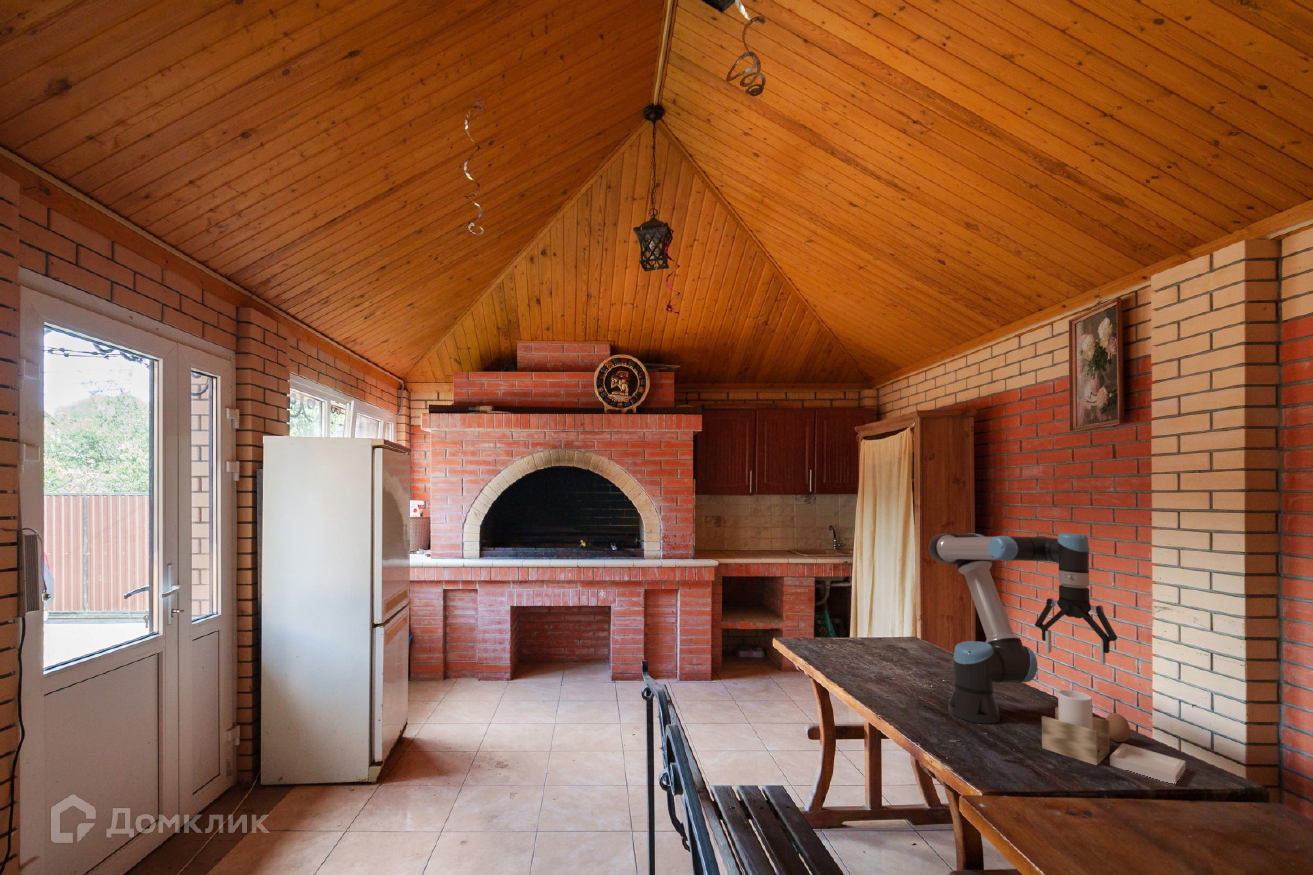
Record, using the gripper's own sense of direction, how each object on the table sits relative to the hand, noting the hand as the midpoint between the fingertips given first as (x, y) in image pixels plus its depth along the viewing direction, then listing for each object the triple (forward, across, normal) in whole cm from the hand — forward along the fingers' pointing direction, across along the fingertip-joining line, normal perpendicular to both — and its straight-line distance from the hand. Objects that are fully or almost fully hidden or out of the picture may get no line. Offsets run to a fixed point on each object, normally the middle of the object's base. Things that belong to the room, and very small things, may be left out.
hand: (1074, 658), depth 178 cm
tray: (+26, +16, +3) cm, 31 cm away
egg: (+27, +6, +18) cm, 33 cm away
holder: (+26, 0, 0) cm, 27 cm away
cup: (+27, 0, 0) cm, 27 cm away
